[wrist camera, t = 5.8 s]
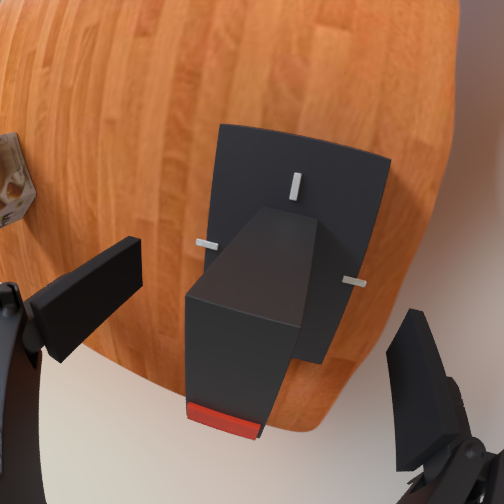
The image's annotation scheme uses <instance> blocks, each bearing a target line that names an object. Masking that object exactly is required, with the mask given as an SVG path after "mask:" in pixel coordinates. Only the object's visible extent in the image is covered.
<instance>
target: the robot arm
mask: <svg viewBox="0 0 504 504" xmlns="http://www.w3.org/2000/svg"><path fill="white" fill-rule="evenodd" d="M142 286H143V281H142V259H141V239H139V238H135V237H132V236H128V237H126V238H125V239H123V240H121V241H120V242H118V243H116V244H115V245H113V246H111V247H110V248H108V249H107V250H105V251H103V252H102V253H100V254H99V255H97V256H95V257H94V258H92V259H91V260H89V261H88V262H86V263H85V264H83V265H82V266H80V267H79V268H77V269H76V270H74V271H73V272H70V273H67V274H64V275H61V276H60V277H58V278H57V279H55V280H54V281H53V283H52V282H51V283H50V284H48V285H47V286H46V287H44V288H42V289H41V290H40V291H38V292H37V293H35V294H34V295H33V296H31V297H30V298H28V299H27V300H26V301H24V302H23V300H22V297H21V294H20V291H19V287H18V285H17V284H16V283H14V282H5V283H2V284H0V504H47V503H46V500H45V494H44V488H43V481H42V474H41V463H40V451H39V387H40V374H41V364H42V351H41V348H42V347H43V346H44V345H45V347H46V349H47V351H48V354H49V355H50V356H51V357H52V358H54V359H55V360H56V361H58V362H59V363H62V362H63V361H64V360H65V359H66V358H67V357H68V356H69V355H70V354H71V353H72V352H73V351H74V350H75V349H76V348H77V347H78V346H79V345H80V344H81V343H82V342H83V341H84V340H85V339H86V338H87V337H88V336H89V335H90V334H91V333H92V332H93V331H94V330H95V329H97V328H98V327H99V326H100V325H101V324H102V323H103V322H104V321H105V320H106V319H107V318H108V317H109V316H110V315H111V314H112V313H114V312H115V311H116V310H117V309H118V308H119V307H120V306H121V305H122V304H123V303H124V302H125V301H127V300H128V299H129V298H130V297H131V296H132V295H133V294H134V293H135V292H136V291H138V290H139V289H140V288H141V287H142ZM386 356H387V363H388V370H389V377H390V385H391V393H392V403H393V413H394V425H395V442H396V471H398V472H399V471H400V472H401V471H414V470H416V469H417V468H419V467H420V466H421V465H423V467H424V472H422V473H421V474H419V475H418V476H417V477H415V478H413V479H412V480H410V481H409V482H408V483H407V484H408V485H409V484H411V483H413V484H412V485H411V486H410V488H409V489H408V490H407V491H406V493H405V494H404V495H403V496H402V497H401V499H400V500H399V501H398V502H397V503H396V504H504V450H502V451H501V452H500V453H499V454H494V453H490V452H486V449H485V446H484V444H483V443H482V442H481V441H480V440H479V439H478V438H476V437H472V435H471V431H470V426H469V422H468V418H467V415H466V411H465V407H463V406H464V404H463V400H462V399H461V393H460V390H459V387H458V385H457V384H456V382H455V381H454V380H453V378H452V377H447V376H446V373H445V370H444V367H443V364H442V361H441V358H440V355H439V352H438V349H437V346H436V344H435V341H434V338H433V335H432V333H431V330H430V328H429V325H428V322H427V320H426V317H425V315H424V313H423V311H419V310H415V309H409V310H408V312H407V314H406V316H405V318H404V320H403V322H402V324H401V326H400V328H399V330H398V332H397V334H396V335H395V337H394V339H393V341H392V342H391V344H390V346H389V348H388V350H387V351H386ZM482 496H484V498H483V501H482V502H481V503H480V498H481V497H482Z"/></svg>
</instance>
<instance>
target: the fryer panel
mask: <svg viewBox="0 0 504 504" xmlns="http://www.w3.org/2000/svg"><path fill="white" fill-rule="evenodd" d="M390 164H391V159H389V158H386V157H383V156H381V155H377V154H374V153H370V152H367V151H363V150H360V149H356V148H352V147H348V146H345V145H341V144H337V143H332V142H328V141H324V140H320V139H315V138H310V137H306V136H301V135H296V134H291V133H285V132H280V131H274V130H268V129H262V128H255V127H248V126H241V125H232V124H220V127H219V134H218V142H217V149H216V157H215V165H214V173H213V182H212V190H211V199H210V209H209V219H208V229H207V240H206V241H205V240H201V239H196V245H199V246H202V247H206V251H205V263H204V272H205V271H206V270H207V269H208V268H209V267H210V266H211V264H212V263H213V262H214V261H215V260H216V259H217V258H218V256H219V255H220V254H221V253H222V252H223V251H224V250H225V248H226V247H227V246H228V245H229V244H230V243H231V242H232V240H233V239H234V238H235V237H236V236H237V235H238V234H239V233H240V231H241V230H242V229H243V228H244V227H245V226H246V225H247V223H248V222H249V221H250V220H251V219H252V218H253V217H254V216H255V215H256V213H257V212H258V211H259V210H260V209H261V208H262V207H263V206H264V207H269V208H273V209H278V210H282V211H286V212H291V213H295V214H299V215H303V216H307V217H311V218H315V219H318V224H317V232H316V240H315V248H314V255H313V262H312V269H311V275H310V282H309V288H308V295H307V301H306V307H305V312H304V318H303V324H302V329H301V332H300V335H299V338H298V340H297V343H296V346H295V349H294V352H293V355H292V357H291V358H295V359H299V360H303V361H308V362H312V363H316V364H322V362H323V360H324V357H325V355H326V353H327V351H328V349H329V346H330V344H331V342H332V339H333V337H334V335H335V332H336V330H337V328H338V325H339V323H340V320H341V318H342V316H343V313H344V311H345V308H346V306H347V303H348V300H349V298H350V295H351V292H352V290H353V287H354V285H356V286H360V287H365V285H366V283H367V282H366V281H364V280H360V279H357V276H358V273H359V270H360V268H361V265H362V262H363V259H364V256H365V253H366V250H367V247H368V244H369V240H370V237H371V234H372V231H373V228H374V224H375V221H376V217H377V214H378V210H379V207H380V203H381V200H382V196H383V192H384V188H385V184H386V180H387V176H388V172H389V168H390Z"/></svg>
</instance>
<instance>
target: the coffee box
mask: <svg viewBox="0 0 504 504" xmlns="http://www.w3.org/2000/svg"><path fill="white" fill-rule="evenodd" d="M35 197H36V191H35V188H34V186H33V183H32V180H31V178H30V175H29V172H28V169H27V166H26V163H25V160H24V157H23V154H22V151H21V148H20V145H19V141H18V138H17V135H16V132H13V133H8V134H3V135H0V228H2V227H4V226H7V225H9V224H11V223H13V222H15V221H18V220H20V219H22V218H23V216H24V215H25V213H26V211H27V210H28V208H29V206H30V205H31V203H32V202H33V200H34V198H35Z"/></svg>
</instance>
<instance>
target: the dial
mask: <svg viewBox="0 0 504 504" xmlns="http://www.w3.org/2000/svg"><path fill="white" fill-rule="evenodd" d="M317 224H318V219H315V218H311V217H307V216H303V215H299V214H295V213H291V212H286V211H282V210H278V209H273V208H269V207H264V206H263V207H262V208H261V209H260V210H259V211H258V212H257V213H256V215H255V216H254V217H253V218H252V219H251V220H250V221H249V222H248V223H247V225H246V226H245V227H244V228H243V229H242V230H241V231H240V233H239V234H238V235H237V236H236V237H235V238H234V239H233V240H232V242H231V243H230V244H229V245H228V246H227V247H226V248H225V250H224V251H223V252H222V253H221V254H220V255H219V256H218V258H217V259H216V260H215V261H214V262H213V263H212V264H211V266H210V267H209V268H208V269H207V270H206V271H205V272H204V274H203V275H202V276H201V277H200V278H199V279H198V281H197V282H196V283H195V284H194V285H193V286H192V288H191V289H190V290H189V291H188V292H187V293H186V295H185V387H186V411H187V418H188V419H190V420H193V421H196V422H198V423H201V424H204V425H207V426H209V427H213V428H216V429H218V430H222V431H225V432H228V433H231V434H234V435H238V436H241V437H245V438H248V439H252V440H255V439H256V438H260V436H261V434H262V432H263V429H264V427H265V425H266V422H267V420H268V417H269V415H270V412H271V410H272V407H273V405H274V402H275V400H276V397H277V395H278V392H279V390H280V387H281V385H282V382H283V379H284V377H285V374H286V371H287V368H288V366H289V363H290V360H291V357H292V355H293V352H294V349H295V346H296V343H297V340H298V338H299V335H300V332H301V329H302V324H303V318H304V312H305V307H306V301H307V295H308V288H309V282H310V275H311V269H312V262H313V255H314V248H315V240H316V232H317Z"/></svg>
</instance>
